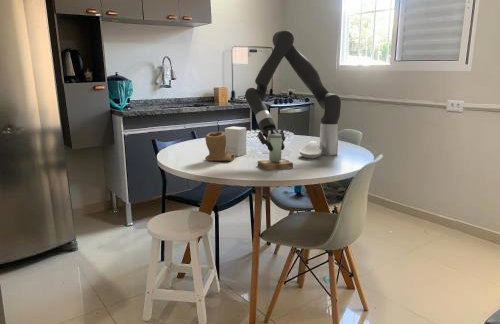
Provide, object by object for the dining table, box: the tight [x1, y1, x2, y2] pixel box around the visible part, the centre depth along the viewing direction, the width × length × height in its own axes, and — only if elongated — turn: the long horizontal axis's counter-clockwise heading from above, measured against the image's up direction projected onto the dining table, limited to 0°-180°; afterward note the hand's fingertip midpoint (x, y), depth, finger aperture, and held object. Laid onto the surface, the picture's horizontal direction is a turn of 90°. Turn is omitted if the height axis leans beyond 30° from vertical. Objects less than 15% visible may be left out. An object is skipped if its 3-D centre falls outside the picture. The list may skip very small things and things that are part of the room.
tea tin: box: [268, 134, 282, 161], centre depth 181 cm, size 6×6×12 cm
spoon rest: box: [298, 140, 321, 159], centre depth 208 cm, size 24×12×7 cm, turn 164°
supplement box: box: [224, 125, 247, 157], centre depth 208 cm, size 9×9×15 cm
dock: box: [257, 158, 294, 172], centre depth 183 cm, size 14×10×3 cm
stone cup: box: [204, 131, 237, 162], centre depth 193 cm, size 15×12×15 cm
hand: (277, 149), depth 179 cm, fingers closed on tea tin, 5 cm apart
